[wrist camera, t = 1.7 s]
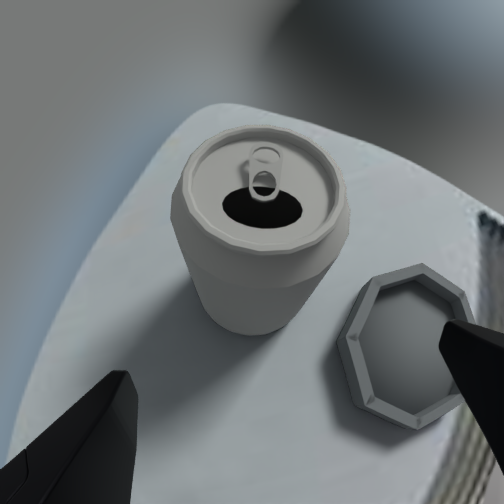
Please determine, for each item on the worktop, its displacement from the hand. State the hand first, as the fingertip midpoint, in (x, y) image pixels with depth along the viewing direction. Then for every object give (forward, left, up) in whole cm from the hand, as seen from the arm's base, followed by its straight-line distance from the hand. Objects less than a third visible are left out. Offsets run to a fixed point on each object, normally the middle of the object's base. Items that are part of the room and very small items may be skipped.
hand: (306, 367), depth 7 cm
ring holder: (+7, -9, -13) cm, 17 cm away
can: (+5, +4, -13) cm, 14 cm away
